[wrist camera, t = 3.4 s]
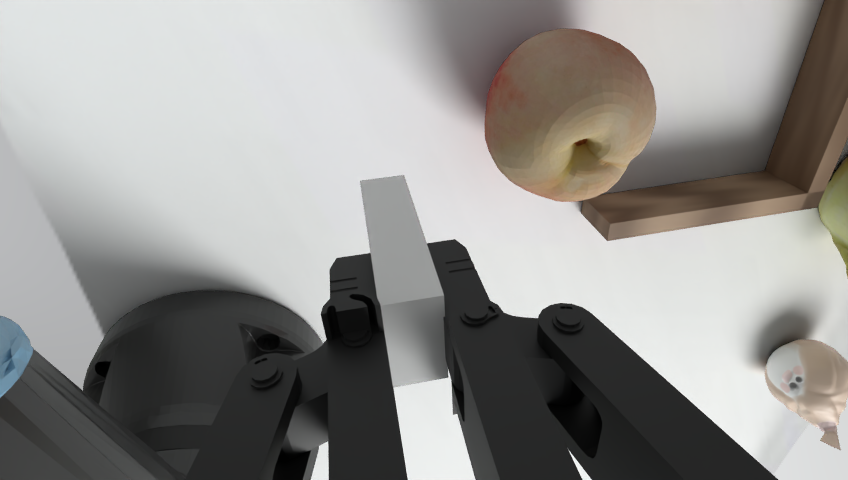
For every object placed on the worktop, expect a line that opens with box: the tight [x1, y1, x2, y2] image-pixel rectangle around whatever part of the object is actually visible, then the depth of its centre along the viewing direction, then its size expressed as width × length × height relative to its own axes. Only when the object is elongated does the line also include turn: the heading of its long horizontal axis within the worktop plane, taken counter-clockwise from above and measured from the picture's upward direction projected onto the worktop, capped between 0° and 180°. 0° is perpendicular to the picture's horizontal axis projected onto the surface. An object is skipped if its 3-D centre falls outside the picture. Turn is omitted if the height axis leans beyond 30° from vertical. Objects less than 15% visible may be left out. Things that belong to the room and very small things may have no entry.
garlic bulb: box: [765, 339, 848, 450], centre depth 42 cm, size 7×6×8 cm
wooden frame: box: [581, 0, 848, 241], centre depth 27 cm, size 14×16×4 cm
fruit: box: [485, 29, 656, 202], centre depth 24 cm, size 8×8×8 cm
